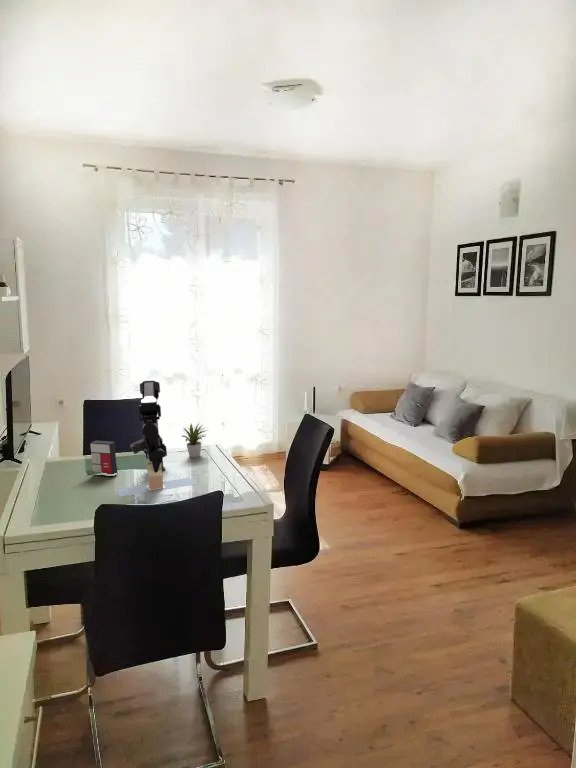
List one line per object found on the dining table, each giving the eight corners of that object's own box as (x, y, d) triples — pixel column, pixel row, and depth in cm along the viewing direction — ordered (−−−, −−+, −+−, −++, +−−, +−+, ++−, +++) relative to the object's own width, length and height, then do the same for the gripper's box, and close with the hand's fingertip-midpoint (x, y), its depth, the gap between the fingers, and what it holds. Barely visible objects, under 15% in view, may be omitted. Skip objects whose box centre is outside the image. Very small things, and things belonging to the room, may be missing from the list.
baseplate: (116, 491, 236) (116, 489, 235) (189, 479, 247) (189, 477, 247) (119, 498, 226) (119, 496, 226) (195, 486, 237) (195, 484, 237)
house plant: (200, 461, 272) (197, 427, 269) (174, 460, 276) (171, 426, 274) (214, 453, 285) (212, 420, 282) (189, 452, 290) (187, 419, 287)
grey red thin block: (92, 475, 258) (88, 442, 255) (98, 472, 262) (95, 440, 259) (112, 477, 254) (109, 444, 251) (118, 474, 258) (115, 441, 255)
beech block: (147, 474, 237) (146, 462, 236) (160, 472, 239) (159, 460, 238) (149, 477, 232) (148, 465, 232) (162, 475, 234) (161, 463, 233)
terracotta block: (148, 485, 238) (147, 474, 237) (160, 483, 240) (159, 472, 239) (150, 489, 233) (149, 477, 232) (163, 487, 235) (162, 475, 234)
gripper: (127, 430, 238) (130, 467, 241) (133, 440, 221) (137, 479, 224) (155, 426, 243) (158, 463, 245) (163, 436, 225) (166, 475, 228)
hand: (154, 470), depth 235 cm, fingers open, 7 cm apart
